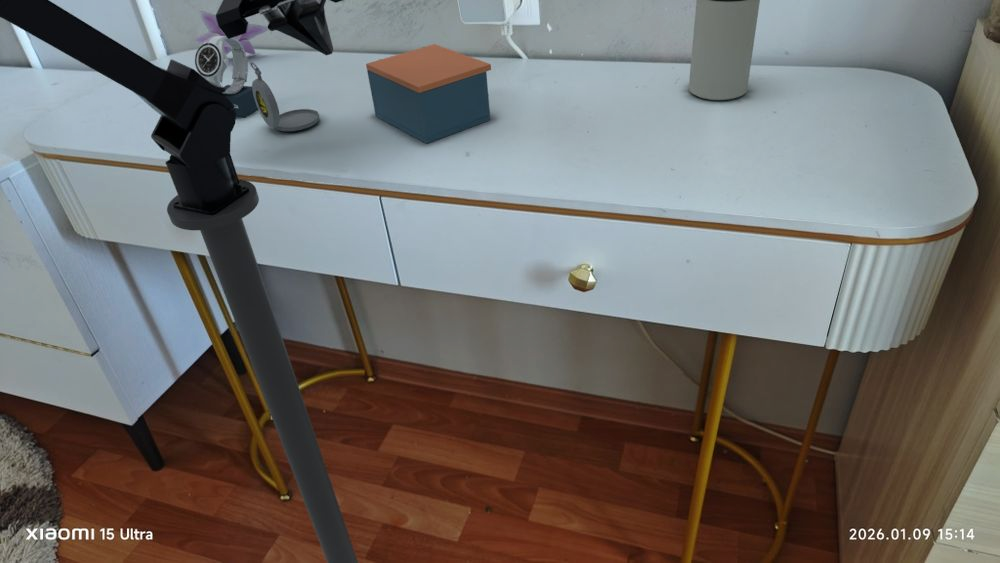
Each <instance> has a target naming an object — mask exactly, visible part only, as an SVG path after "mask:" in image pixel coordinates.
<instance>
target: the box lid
mask: <svg viewBox="0 0 1000 563" xmlns="http://www.w3.org/2000/svg"><path fill="white" fill-rule="evenodd" d="M365 65H366V66H365V67H366V71H367V70H369V71H372V72H374V73H376V74H378V75H380V76H382V77H385V78H387V79H389V80H391V81H393V82H396V83H398V84H400V85H402V86H404V87H407V88H409V89H411V90H413V91H415V92H418V93H422V92H425V91H428V90H431V89H434V88H437V87H440V86H443V85H446V84H449V83H452V82H455V81H459V80H462V79H465V78H468V77H471V76H474V75H477V74H480V73H483V72H486V73H487V72H489V71H491V70H492V64H491V63H488V62H486V61H482V60H480V59H477V58H474V57H472V56H469V55H467V54H463V53H462V52H458V51H456V50H453V49H450V48H447V47H444V46H441V45H438V44H436V43H433V44H430V45H427V46H426V45H425V46H422V47H419V48H416V49H413V50H409V51H406V52H401V53H399V54H395V55H392V56H388V57H385V58H382V59H377V60H375V61H371V62H367V63H366V64H365Z"/></svg>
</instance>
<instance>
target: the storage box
mask: <svg viewBox="0 0 1000 563" xmlns="http://www.w3.org/2000/svg"><path fill="white" fill-rule="evenodd" d="M366 72H367V78H368V82H369V88H370V93H371V98H372V99H371V100H372V104H373V109H374V115H375V117H376V118H378V119H380V120H381V121H384V122H386V123H387V124H389V125H390V126H393V127H394V128H397V129H399V130H400V131H401V132H404V133H406V134H408V135H410V136H411V137H413V138H416V139H417V140H418V141H421V142H422V143H424V144H429V143H432V142H433V143H434V142H435V141H438V140H440V139H443V138H446V137H449V136H452V135H454V134H457V133H459V132H463V131H464V130H467V129H470V128H472V127H475V126H478V125H480V124H483V123H486V122H489V121H491V111H490V97H489V88H488V87H489V85H488V74H487V71H486V72H483V73H480V74H477V75H474V76H471V77H468V78H465V79H462V80H459V81H455V82H452V83H449V84H446V85H443V86H440V87H437V88H434V89H431V90H428V91H425V92H422V93H418V92H415V91H413V90H411V89H409V88H407V87H404V86H402V85H400V84H398V83H396V82H393V81H391V80H389V79H387V78H385V77H382V76H380V75H378V74H376V73H374V72H372V71H369V70H367V69H366Z"/></svg>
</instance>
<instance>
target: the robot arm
mask: <svg viewBox="0 0 1000 563" xmlns="http://www.w3.org/2000/svg"><path fill="white" fill-rule="evenodd" d="M326 1H327V0H222V1H221V3H220V5H219V8H218V10H217V12H216V14H215V15H216V22H217V26H218V28H219V29H220V30H221V31H222V33H223V34H224V35H225V36H226V37H227V38H228V39H230V38H233V37H236V36H239V35H242V34H245V33H246V32H247V29H248V24H249V21H248V20H247V18H250V17H252V16H256V15H258V14H259V15H261V16H263V18H264V19H265V20H266V21H267V23H268V25H267V27H268V29H269V30H268V31H270V32H274V31H277V32H280V33H282V34H283V35H286V36H288V37H291V38H293V39H295V40H297V41H299V42H301V43H303V44H305V45H307V46H308V47H310V48H312V49H314V50H316V51H317V52H319V53H321V54H323V55H325V56H330V55H332V54H333V52H334V46H333V42H332V37H331V33H330V30H329V26H328V22H327V18H326V12H325V4H326ZM329 1H331V2H332V3H335V4H337V3H340V2H343V1H344V0H329ZM0 18H1V19H3V20H5V21H7V22H9V23H10V24H12V25H14V26H16V27H17V28H19V29H21V30H23V31H25V32H26V33H28V34H30V35H32V36H33V37H35V38H37V39H38V40H40V41H42V42H44V43H46V44H48V45H49V46H51V47H53V48H55V49H56V50H58V51H60V52H61V53H63V54H65V55H66V56H68V57H71V58H73V59H74V60H76V61H78V62H80V63H81V64H83V65H85V66H86V67H89V68H90V69H92V70H93V71H95V72H97V73H99V74H101V75H103V76H105V77H106V78H108V79H109V80H111V81H113V82H115V83H117V84H118V85H120V86H122V87H124V88H126V89H127V90H129V91H131V92H132V93H134V94H135V95H136V96H137V97H138V98H140V99H141V100H142V101H143V102H144V103H146V104H147V106H148V107H150V108H151V109H152V110H154V112H156V113H158V114H159V115H160V116H159V119H158V121H157V123H156V125H155V127H154V128H153V130H152V133H151V135H150V138H151V140H153V141H154V143H155V144H156V145H157V146H158V147H159V148H160V150H162V151H163V152H166V153H167V154H169V159H168V160H166V161H165V165H166V168H167V170H168V173H169V176H170V179H171V180H172V184H173V186H174V189H175V191H176V194H177V195H178V196H179V200H178V201H176V202H174V203H173V207H174V208H176V209H181V210H186V211H191V212H196V213H201V214H206V215H215V214H217V213H218V212H220V211H221V210H223V209H224V208H226V207H227V206H229V205H230V204H231V203H233V202H234V201H236V200H237V199H239V198H240V197H242V196H243V195H244V194H246V193H247V192H249V188H248V187H247V186H241V185H238V184H239V179H240V178H239V176H238V173H237V169H236V167H235V164H234V161H233V157H232V155H231V143H232V142H231V139H232V132H233V130H234V127H235V125H236V120H237V117H236V113H235V109H234V105H233V103H232V102H231V101H230V100H229V99H228V98H227V97H226V96H224V95H222V94H221V93H223V92H225V91H226V89H225V88H223V87H224V86H223V87H221V86H222V85H221V86H219V85H217V84H214V83H212V82H210V81H208V80H206V79H205V78H204V77H202V76H201V75H200V74H199V73H198V71H197V70H195V69H194V68H192V67H190V66H187V65H186V64H183V63H182V62H179V61H177V60H175V59H173V58H172V59H170V60H169V63H168V65H167V68H166V69H165V68H163V67H160V66H158V65H155V64H154V63H153V62H151V61H149V60H147V59H145V58H144V57H142V56H141V55H139V54H137V53H136V52H134V51H132V50H131V49H129V48H128V47H126V46H124V45H122V44H121V43H120V42H118V41H116V40H114V39H113V38H111V37H109V36H108V35H106V34H105V33H103V32H102V31H100V30H98V29H97V28H95V27H93V26H92V25H90V24H88V23H87V22H85V21H83V20H82V19H80V18H79V17H78V16H76V15H74V14H72V13H71V12H69V11H67V10H66V9H64V8H62V6H61V7H60V6H59V5H57V4H55V2H52V1H51V0H0Z"/></svg>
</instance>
